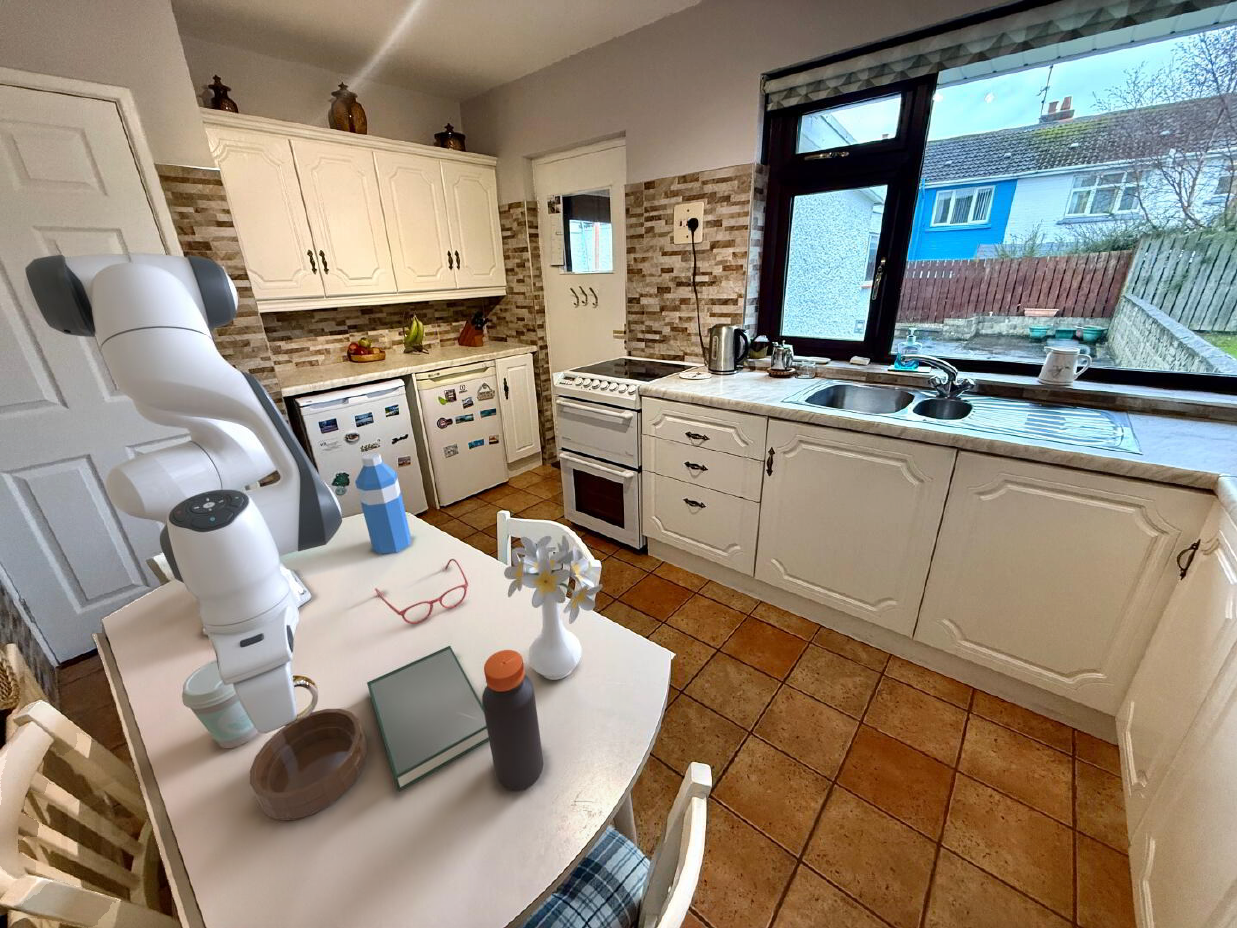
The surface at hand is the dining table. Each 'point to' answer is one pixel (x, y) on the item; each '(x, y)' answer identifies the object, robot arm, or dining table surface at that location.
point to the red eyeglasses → (431, 600)
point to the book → (427, 715)
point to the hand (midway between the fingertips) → (286, 700)
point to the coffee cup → (217, 707)
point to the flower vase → (552, 601)
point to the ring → (311, 686)
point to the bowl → (308, 764)
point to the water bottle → (382, 505)
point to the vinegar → (512, 721)
